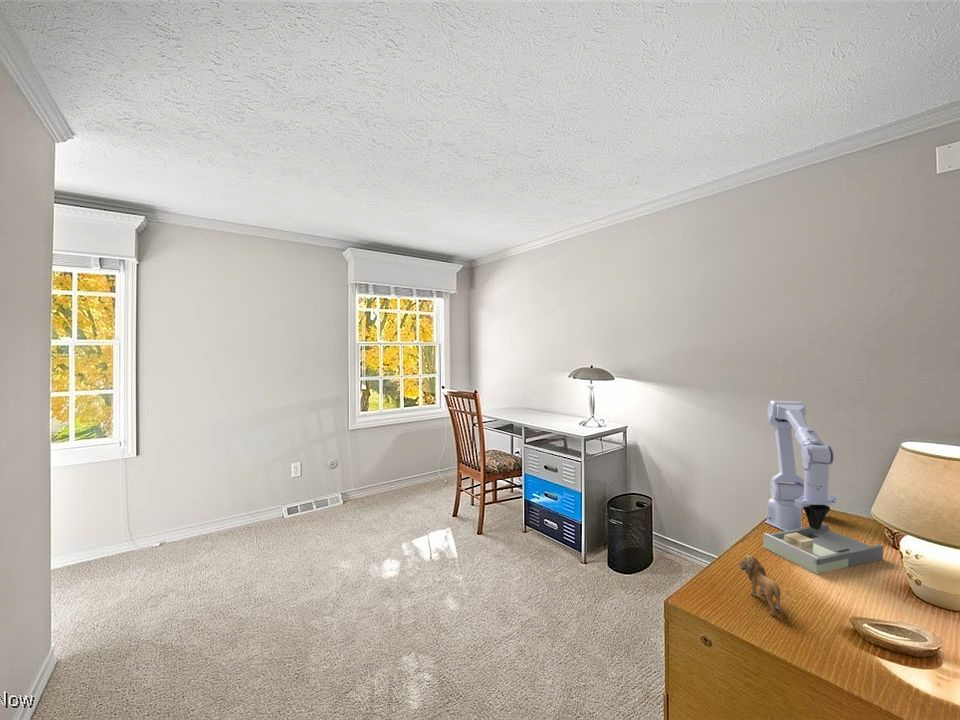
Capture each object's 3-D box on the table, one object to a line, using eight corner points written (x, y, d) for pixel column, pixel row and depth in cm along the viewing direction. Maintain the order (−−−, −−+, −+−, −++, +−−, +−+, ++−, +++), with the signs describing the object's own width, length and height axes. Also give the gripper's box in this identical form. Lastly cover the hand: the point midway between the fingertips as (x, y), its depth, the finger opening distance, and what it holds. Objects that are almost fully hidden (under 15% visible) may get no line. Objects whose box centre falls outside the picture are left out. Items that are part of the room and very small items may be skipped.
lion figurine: (734, 585, 112) (735, 552, 112) (753, 584, 113) (753, 551, 112) (778, 622, 98) (778, 584, 97) (799, 620, 98) (800, 583, 98)
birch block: (783, 547, 127) (784, 534, 127) (795, 545, 129) (796, 532, 129) (800, 555, 123) (800, 542, 122) (813, 553, 124) (813, 539, 124)
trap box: (763, 547, 133) (763, 533, 133) (825, 535, 140) (825, 522, 140) (816, 574, 117) (816, 558, 117) (882, 559, 125) (883, 544, 125)
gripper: (812, 491, 121) (810, 537, 122) (847, 485, 125) (846, 530, 126) (788, 483, 128) (786, 526, 129) (822, 478, 132) (821, 520, 133)
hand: (814, 528), depth 128 cm, fingers closed
